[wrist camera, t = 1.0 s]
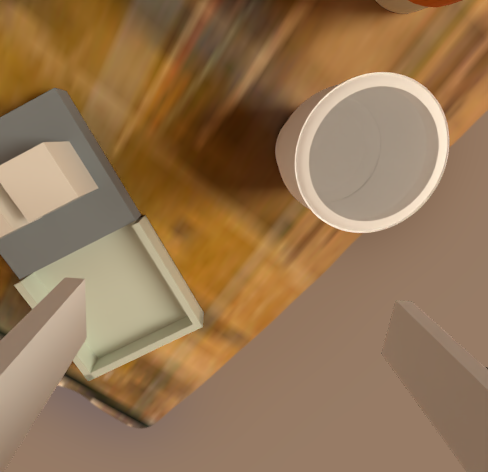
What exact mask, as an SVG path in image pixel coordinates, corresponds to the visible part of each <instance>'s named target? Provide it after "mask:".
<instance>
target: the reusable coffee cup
mask: <svg viewBox="0 0 488 472" xmlns="http://www.w3.org/2000/svg"><path fill="white" fill-rule="evenodd" d="M375 1H376V2H377V3H379V4H380V5H381V6H382V7H383V8H385V9H387V10H389V11H391V12H395V13H404V14H407V13H412V12H416V11H419V10H422V9H424V8H427V7H440V6H445V5H450V4H453V3H456V2H459V1H462V0H375Z"/></svg>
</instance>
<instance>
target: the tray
mask: <svg viewBox="0 0 488 472" xmlns="http://www.w3.org/2000/svg"><path fill="white" fill-rule="evenodd" d="M65 277H68V278H82V279H85V296H86V332H87V338H86V340H85V342H84V343H83V345H82V346H81V348H80V350H79V351H78V353H77V355H76V356H75V358H74V359H73V362H74V363H75V365H76V366H77V367H78V368H79V370H80V371H81V372H82V374H83V375H84V376H85V377H86V379H87V380H88V381H90V380H92V379H94V378H96V377H98V376H100V375H103V374H105V373H107V372H109V371H111V370H113V369H115V368H117V367H119V366H121V365H124V364H126V363H128V362H130V361H132V360H134V359H136V358H138V357H140V356H142V355H145V354H147V353H149V352H151V351H153V350H155V349H157V348H159V347H161V346H163V345H165V344H168V343H170V342H172V341H174V340H176V339H178V338H180V337H182V336H184V335H186V334H189V333H191V332H193V331H195V330H197V329H199V328H201V327H203V316H204V312H203V310H202V309H201V307H200V305H199V304H198V302H197V300H196V299H195V297H194V295H193V294H192V292H191V290H190V289H189V287H188V285H187V284H186V282H185V280H184V279H183V277H182V275H181V274H180V272H179V270H178V269H177V267H176V265H175V264H174V262H173V260H172V259H171V257H170V255H169V254H168V252H167V250H166V249H165V247H164V245H163V244H162V242H161V240H160V239H159V237H158V235H157V234H156V232H155V230H154V229H153V227H152V225H151V224H150V222H149V220H148V219H147V217H146V215H145V216H143V217H141V218H139V219H137V220H136V221H134V222H132V223H130V224H128V225H126V226H124V227H122V228H120V229H118V230H116V231H114V232H112V233H110V234H108V235H106V236H105V237H103V238H101V239H99V240H97V241H95V242H93V243H91V244H89V245H87V246H85V247H83V248H81V249H79V250H77V251H75V252H73V253H71V254H69V255H67V256H65V257H63V258H61V259H59V260H57V261H55V262H53V263H51V264H49V265H47V266H45V267H43V268H41V269H39V270H37V271H35V272H33V273H31V274H29V275H27V276H26V277H25V278H23V279H22V280H21V281H19V282H18V283H16V284H15V285H14V286H15V287H16V289H17V290H18V291H19V293H20V294H21V295H22V296H23V298H24V299H25V300H26V302H27V303H28V304H29V305H30V307H31V308H32V309H33V308H34V307H35V306H36V305H37V304H38V303H39V302H40V301H41V300H42V299H43V298H44V297H45V296H46V295H47V294H48V293H50V292H51V291H52V290H53V289H54V288H55V287H56V286H57V285H58V284H59V283H60V282H61V281H62V280H63V279H64V278H65Z"/></svg>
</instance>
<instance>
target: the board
mask: <svg viewBox="0 0 488 472" xmlns="http://www.w3.org/2000/svg"><path fill="white" fill-rule="evenodd" d="M63 141H69V142H70V143H71V145H72V146H73V148H74V150H75V151H76V153H77V154H78V156H79V158H80V159H81V161H82V162H83V164H84V166H85V167H86V169H87V170H88V172H89V173H90V175H91V177H92V178H93V180H94V181H95V183H96V185H97V186H98V189H96V190H94V191H92V192H90V193H88V194H86V195H84V196H83V197H81V198H79V199H77V200H75V201H73V202H71V203H69V204H67V205H65V206H63V207H61V208H59V209H57V210H55V211H53V212H51V213H49V214H47V215H45V216H42V218H40V219H38V220H36V221H34V222H32V223H30V224H28V225H26V226H25V227H23V228H21V229H19V230H17V231H15V232H13V233H11V234H9V235H7V236H5V237H3V238H1V239H0V254H1V256H2V257H3V258H4V260H5V261H6V262H7V263H8V265H9V266H10V267H11V269H12V270H13V271H14V273H15V274H16V275H17V277H18V278H19V279H22V278H24V277H26V276H27V275H29V274H31V273H33V272H35V271H37V270H39V269H41V268H43V267H45V266H47V265H49V264H51V263H53V262H55V261H57V260H59V259H61V258H63V257H65V256H67V255H69V254H71V253H73V252H75V251H77V250H79V249H81V248H83V247H85V246H87V245H89V244H91V243H93V242H95V241H97V240H99V239H101V238H103V237H105V236H106V235H108V234H110V233H112V232H114V231H116V230H118V229H120V228H122V227H124V226H126V225H128V224H130V223H132V222H134V221H136V220H137V219H138V218H139V217H140V216H141V214H140V212H139V211H138V209H137V207H136V206H135V204H134V202H133V201H132V199H131V197H130V196H129V194H128V192H127V191H126V189H125V188H124V186H123V184H122V183H121V181H120V179H119V178H118V176H117V174H116V173H115V171H114V169H113V168H112V166H111V164H110V163H109V161H108V159H107V158H106V156H105V154H104V153H103V151H102V149H101V148H100V146H99V144H98V143H97V141H96V139H95V138H94V136H93V134H92V133H91V131H90V130H89V128H88V126H87V125H86V123H85V121H84V120H83V118H82V116H81V115H80V113H79V111H78V110H77V108H76V106H75V105H74V103H73V101H72V100H71V98H70V96H69V95H68V93H67V91H64V90H61V89H57V88H53V89H51V90H50V91H48V92H46V93H44V94H42V95H40V96H39V97H37V98H35V99H33V100H31V101H29V102H27V103H26V104H24V105H22V106H20V107H18V108H16V109H15V110H13V111H11V112H9V113H7V114H5V115H4V116H2V117H0V165H2V164H3V163H5V162H7V161H9V160H11V159H13V158H15V157H17V156H18V155H20V154H22V153H24V152H26V151H28V150H30V149H32V148H33V147H35V146H37V145H39V144H41V143H43V142H63Z"/></svg>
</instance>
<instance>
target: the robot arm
mask: <svg viewBox="0 0 488 472" xmlns="http://www.w3.org/2000/svg"><path fill="white" fill-rule="evenodd" d="M86 338H87V332H86V296H85V279H82V278H68V277H65V278H64V279H63V280H62V281H61V282H60V283H59V284H58V285H57V286H56V287H55V288H54V289H53V290H52V291H51V292H50V293H48V294H47V295H46V296H45V297H44V298H43V299H42V300H41V301H40V302H39V303H38V304H37V305H36V306H35V307H34V308H33V309H32V310H31V311H30V312H29V313H28V314H27V315H26V316H25V317H24V318H23V319H22V320H21V321H20V322H19V323H18V324H17V325H16V326H15V327H14V328H13V329H12V330H11V331H10V332H9V333H8V334H7V335H6V336H5V337H4V338H3V339H2V340H1V341H0V472H4V470H5V468H6V467H7V466H8V464H9V462H10V461H11V459H12V458H13V456H14V454H15V453H16V451H17V449H18V448H19V446H20V445H21V443H22V441H23V440H24V438H25V436H26V435H27V433H28V432H29V430H30V428H31V427H32V425H33V424H34V422H35V420H36V419H37V417H38V416H39V414H40V412H41V411H42V409H43V408H44V406H45V404H46V403H47V401H48V400H49V398H50V396H51V395H52V393H53V392H54V390H55V388H56V387H57V385H58V384H59V382H60V380H61V379H62V377H63V375H64V374H65V372H66V371H67V369H68V367H69V366H70V364H71V363H72V361H73V359H74V358H75V356H76V355H77V353H78V351H79V350H80V348H81V346H82V345H83V343H84V342H85V340H86ZM381 354H382V355H383V357H384V358H385V360H386V361H387V362H388V364H389V365H390V366H391V368H392V369H393V371H394V372H395V373H396V375H397V376H398V378H399V379H400V380H401V382H402V383H403V384H404V386H405V387H406V389H407V390H408V391H409V393H410V394H411V396H412V397H413V398H414V400H415V401H416V402H417V404H418V405H419V407H420V408H421V409H422V411H423V412H424V413H425V415H426V416H427V418H428V419H429V420H430V422H431V423H432V425H433V426H434V427H435V429H436V430H437V431H438V433H439V434H440V436H441V437H442V438H443V440H444V441H445V443H446V444H447V445H448V447H449V448H450V450H451V451H452V452H453V453H454V455H455V456H456V458H457V459H458V461H459V462H460V463H461V465H462V466H463V467H464V469H465V470H466V471H467V472H488V368H487V367H484V366H483V365H482V364H481V363H480V362H479V361H478V360H477V359H476V358H475V357H473V356H472V355H471V354H470V353H469V352H468V351H467V350H466V349H464V348H463V347H462V346H461V345H460V344H459V343H458V342H457V341H456V340H454V339H453V338H452V337H451V336H450V335H449V334H448V333H447V332H445V331H444V330H443V329H442V328H441V327H440V326H439V325H437V323H435V322H434V321H433V320H432V319H431V318H430V317H429V316H428V315H427V314H425V313H424V312H423V311H422V310H421V309H420V308H419V307H417V306H416V305H415V304H414V303H413V302H412V301H395V305H394V308H393V312H392V316H391V319H390V323H389V327H388V330H387V334H386V338H385V341H384V345H383V349H382V353H381Z"/></svg>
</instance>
